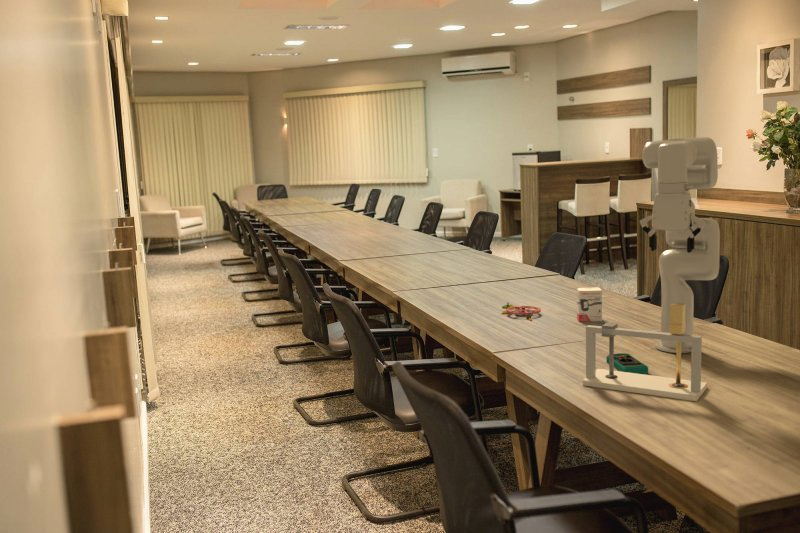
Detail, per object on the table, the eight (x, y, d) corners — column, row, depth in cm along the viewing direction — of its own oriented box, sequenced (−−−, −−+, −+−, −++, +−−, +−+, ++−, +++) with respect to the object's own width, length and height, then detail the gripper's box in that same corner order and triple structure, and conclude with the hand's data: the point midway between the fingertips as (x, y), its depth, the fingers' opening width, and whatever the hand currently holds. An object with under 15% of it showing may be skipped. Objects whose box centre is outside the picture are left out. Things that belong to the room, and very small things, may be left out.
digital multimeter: (628, 361, 240) (628, 351, 240) (649, 375, 226) (649, 365, 225) (605, 363, 239) (605, 353, 239) (624, 377, 225) (624, 367, 224)
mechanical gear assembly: (512, 323, 294) (551, 321, 296) (512, 312, 293) (551, 310, 295) (492, 306, 323) (528, 305, 325) (492, 296, 323) (528, 295, 325)
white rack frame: (597, 373, 228) (597, 316, 225) (707, 387, 211) (708, 326, 209) (582, 385, 218) (582, 326, 215) (696, 401, 201) (697, 337, 199)
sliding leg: (673, 381, 211) (674, 302, 207) (684, 383, 209) (686, 303, 206) (668, 386, 207) (669, 305, 204) (680, 387, 206) (682, 306, 202)
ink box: (578, 321, 290) (578, 290, 288) (576, 318, 295) (576, 287, 293) (602, 321, 290) (602, 289, 288) (599, 318, 294) (599, 287, 293)
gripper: (708, 187, 213) (707, 250, 216) (644, 187, 222) (643, 247, 225) (702, 190, 207) (701, 254, 210) (636, 190, 216) (636, 251, 219)
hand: (671, 250), depth 218 cm, fingers open, 9 cm apart
